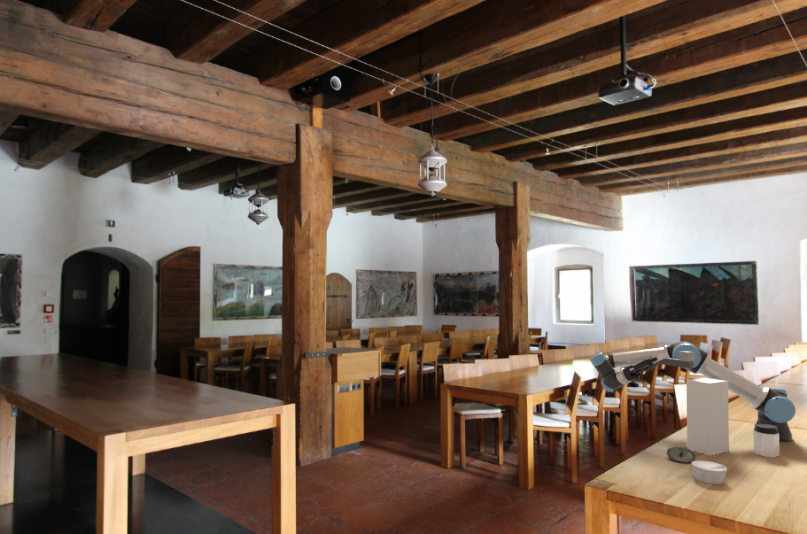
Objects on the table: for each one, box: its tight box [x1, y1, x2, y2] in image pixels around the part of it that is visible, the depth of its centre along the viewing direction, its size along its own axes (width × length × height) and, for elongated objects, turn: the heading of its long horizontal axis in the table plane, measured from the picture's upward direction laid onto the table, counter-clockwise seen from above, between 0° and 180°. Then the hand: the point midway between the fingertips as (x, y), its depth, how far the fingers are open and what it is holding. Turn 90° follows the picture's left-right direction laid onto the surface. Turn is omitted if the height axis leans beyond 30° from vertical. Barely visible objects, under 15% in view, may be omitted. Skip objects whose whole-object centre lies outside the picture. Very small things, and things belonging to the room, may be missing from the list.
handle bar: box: [651, 351, 695, 369], centre depth 243 cm, size 5×19×7 cm, turn 30°
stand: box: [686, 377, 730, 456], centre depth 228 cm, size 14×10×30 cm
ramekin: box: [690, 460, 728, 485], centre depth 191 cm, size 11×11×5 cm
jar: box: [753, 423, 780, 458], centre depth 223 cm, size 9×8×12 cm
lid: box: [666, 446, 697, 464], centre depth 214 cm, size 11×10×5 cm
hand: (665, 355), depth 246 cm, fingers closed on handle bar, 3 cm apart
